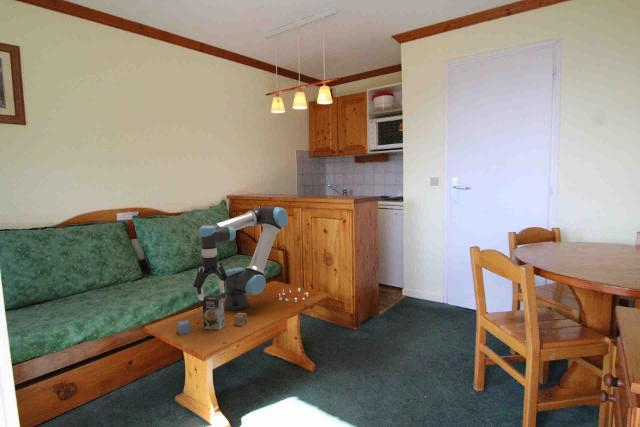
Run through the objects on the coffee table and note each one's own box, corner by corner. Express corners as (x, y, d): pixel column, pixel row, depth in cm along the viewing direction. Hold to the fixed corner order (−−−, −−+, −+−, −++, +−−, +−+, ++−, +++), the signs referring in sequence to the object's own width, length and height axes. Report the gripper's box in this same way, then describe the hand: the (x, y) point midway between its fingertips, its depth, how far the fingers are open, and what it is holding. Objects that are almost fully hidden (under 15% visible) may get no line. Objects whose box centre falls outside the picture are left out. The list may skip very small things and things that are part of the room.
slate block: (187, 329, 194) (186, 319, 193) (190, 332, 190) (189, 322, 189) (177, 331, 191) (177, 322, 190) (180, 335, 187) (179, 325, 186)
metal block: (239, 321, 201) (238, 312, 201) (247, 322, 200) (246, 313, 199) (234, 325, 197) (233, 316, 196) (242, 326, 195) (241, 317, 194)
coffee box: (203, 329, 193) (201, 299, 191) (209, 324, 199) (207, 295, 197) (220, 330, 191) (218, 299, 189) (225, 324, 197) (223, 295, 195)
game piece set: (292, 290, 251) (292, 284, 251) (314, 296, 239) (314, 290, 238) (271, 298, 236) (271, 292, 236) (294, 305, 224) (294, 299, 223)
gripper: (223, 250, 203) (225, 288, 205) (184, 260, 182) (186, 302, 184) (233, 252, 198) (234, 290, 201) (194, 262, 178) (196, 304, 180)
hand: (211, 296), depth 193 cm, fingers open, 13 cm apart
